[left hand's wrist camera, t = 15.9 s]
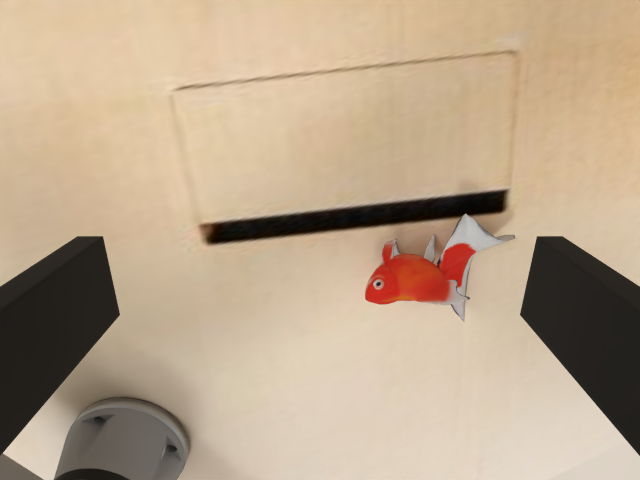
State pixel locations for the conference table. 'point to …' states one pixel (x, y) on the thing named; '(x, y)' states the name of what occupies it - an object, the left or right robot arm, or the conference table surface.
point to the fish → (431, 269)
